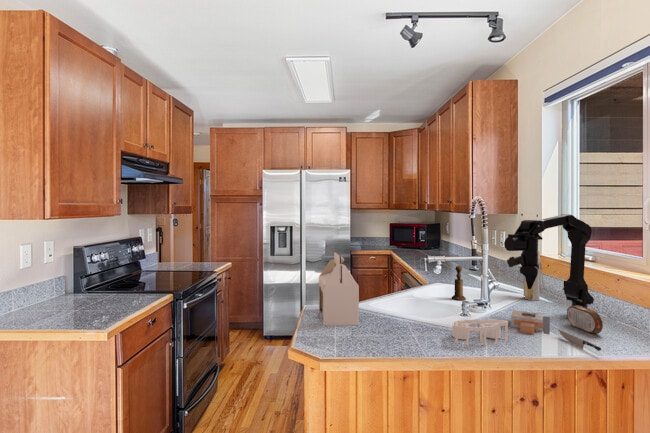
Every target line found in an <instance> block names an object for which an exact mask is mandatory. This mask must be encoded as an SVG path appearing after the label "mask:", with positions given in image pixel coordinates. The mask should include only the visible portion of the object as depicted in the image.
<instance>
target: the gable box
mask: <svg viewBox="0 0 650 433" xmlns="http://www.w3.org/2000/svg"><path fill="white" fill-rule="evenodd" d="M333 255H334V256H333V257H332V258H331V259H330V260H329V261H328V263H326V265H325V267H324V268H323V270H322V272H321V273H320V275H319V276H318V311H319V314H320V317H321V321H322V323H323V326H359V325H360V324H359V322H360V321H359V320H360V312H359V311H360V306H359V305H360V302H359V301H360V298H359V297H360V294H359V293H360V292H359V291H360V289H359V288H360V286H359V284H358V283H357V281H356V279H355V278H354V277H353V275H352V274H351V272H350V270H349V269H348V267H347V266H346V265H345V264H344V263H345V260H346V259H345V258H344V257H343V256H342V255H340V254H339V253H338V252H336V251H335V252H334V253H333ZM321 310H322V312H321Z"/></svg>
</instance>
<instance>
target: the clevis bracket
mask: <svg viewBox="0 0 650 433" xmlns="http://www.w3.org/2000/svg"><path fill="white" fill-rule="evenodd" d="M543 316H544V313H540V312H531V311H522V310H514V309H513V310H512V313H511V315H510V327H513V328H519V329H520V330H519V333H521V334H528V335H535V333H536V331H537V332H543Z"/></svg>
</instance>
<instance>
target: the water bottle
mask: <svg viewBox="0 0 650 433" xmlns="http://www.w3.org/2000/svg"><path fill="white" fill-rule="evenodd" d="M540 254H541V253H540V250H538V264H539V269H538V275H537V277H536V279H535V281H534V299H528V300H527V301H532V300H533V302H534V301H535V302H536V301H537V300H538V301H539V300H540V291H544V279H543V278H544V276H543V269H542V263H543V261H542V260H541V257H540V256H541V255H540ZM525 280H526V278H525V276H524V275H523V297H524V296H525ZM541 282H542V288H541ZM526 299H527V298H526ZM526 299H525V300H526Z"/></svg>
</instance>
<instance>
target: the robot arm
mask: <svg viewBox="0 0 650 433" xmlns="http://www.w3.org/2000/svg"><path fill="white" fill-rule="evenodd" d="M560 226H562V229H563V230H564V231H566V232H567V239H568V240H569V241H570V243H571V245H570V246H571V250H570V264H569V265H570V266H569V267H570V268H569V278H567V280H564V281H563V288H562V290H563V293H564V295H565V298H566V301H571V306H576V305H579V306H582V307H585V308H588V309H589V305H592V304H593V305H594V301H595V298H594V297H593V296H592V295H591V294H590V292H589V287H588V286H589V285H588V283H587V281H586V280H585V276H584V275H585V260H586V246H587V244H588V243H589V242H590V240H591V236H592V233H593V229H592V227H591V225H589V224H587V223H586V222H585V221H583V220H581V219H579V218H577V217H576V216H574V215H573V214H571V213H570V214H569V213H568V214H567V213H566V214H565V213H562V214H560V215H556V216H555V215H554V216H551V217H547V218H541V219H524V220H522V221H520V224H519V226H518V227H517V229H516V230H515V232H514V233H513V234H512V233H511V234H510V233H508V234H507V237H506V238H505V239H504V240H505V241H503V245H504V248H505V250H506V251H508V252H520V251H521V254H520V256H510V257H509V258H508V259H506V262H507V266H508V268H513V267H515V266H519V265H520V267H519V274H522V275H523V277H524V276H525V278H526V283H527V287H528V289H531V288H532V286H533V284H534V281H535V279H536V277H537V275H538V269H539V264H538V251H539V240H541V241H542V240H543V237H542V236H541V235H540V234H541V233H543V232H544V231H545V230H548V229H551V228H554V227H555V228H557V227H560Z"/></svg>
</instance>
